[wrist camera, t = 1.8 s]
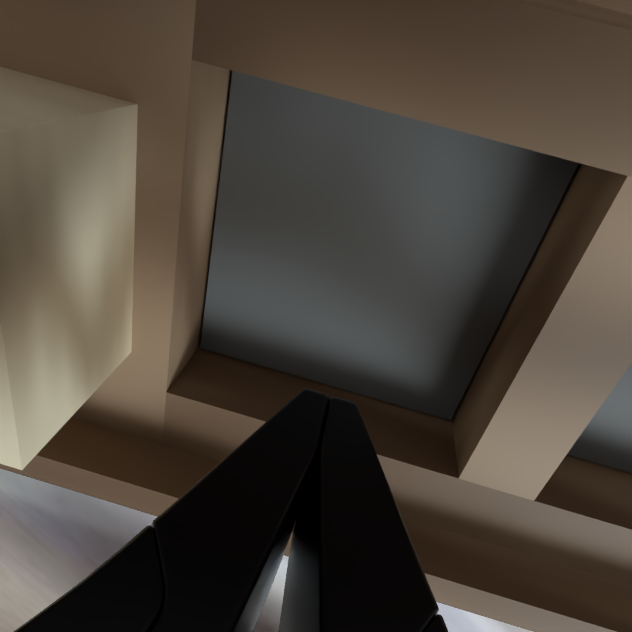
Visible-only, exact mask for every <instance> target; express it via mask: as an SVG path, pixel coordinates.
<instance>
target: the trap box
mask: <svg viewBox="0 0 632 632" xmlns="http://www.w3.org/2000/svg"><path fill="white" fill-rule="evenodd" d="M0 67H3V68H7V69H10V70H14V71H18V72H21V73H25V74H29V75H32V76H36V77H40V78H43V79H47V80H51V81H55V82H58V83H62V84H66V85H69V86H73V87H77V88H80V89H84V90H88V91H91V92H95V93H99V94H102V95H106V96H110V97H113V98H117V99H121V100H125V101H128V102H132V103H136V104H138V115H137V154H136V192H135V231H134V270H133V309H132V348H131V353H130V354H129V355H128V356H127V357H126V358H125V359H124V361H123V362H122V363H121V364H120V365H119V366H118V367H117V368H116V369H115V370H114V371H113V372H112V374H111V375H110V376H109V377H108V378H107V379H106V380H105V381H104V382H103V383H102V384H101V385H100V387H99V388H98V389H97V390H96V391H95V392H94V393H93V394H92V395H91V396H90V397H89V398H88V400H87V401H86V402H85V403H84V404H83V405H82V406H81V407H80V408H79V409H78V410H77V411H76V412H75V414H74V415H73V416H72V417H71V418H70V419H69V420H68V421H67V422H66V423H65V424H64V425H63V427H62V428H61V429H60V430H59V431H58V432H57V433H56V434H55V435H54V436H53V437H52V438H51V440H50V441H49V442H48V443H47V444H46V445H45V446H44V447H43V448H42V449H41V450H40V451H39V453H38V454H37V455H36V456H35V457H34V458H33V459H32V460H31V461H30V462H29V463H28V464H27V466H26V467H25V468H24V469H23V470H19V469H16V468H13V467H10V466H6V465H3V464H0V468H1V469H4V470H8V471H11V472H14V473H17V474H21V475H24V476H27V477H31V478H34V479H37V480H40V481H44V482H47V483H50V484H53V485H57V486H60V487H63V488H66V489H70V490H73V491H76V492H80V493H83V494H86V495H89V496H93V497H96V498H99V499H102V500H106V501H109V502H112V503H115V504H119V505H122V506H125V507H129V508H132V509H135V510H138V511H142V512H145V513H148V514H151V515H155V516H160V515H161V514H162V513H163V512H164V511H165V510H166V509H167V508H169V507H170V506H171V505H172V504H173V503H174V502H175V501H177V500H178V499H179V498H180V497H181V496H182V495H183V494H185V493H186V492H187V491H188V490H189V489H190V488H191V487H193V486H194V485H195V484H196V483H197V482H198V481H199V480H201V479H202V478H203V477H204V476H205V475H206V474H207V473H208V472H210V471H211V470H212V469H213V468H214V467H215V466H216V465H218V464H219V463H220V462H221V461H222V460H223V459H224V458H226V457H227V456H228V455H229V454H230V453H231V452H232V451H234V450H235V449H236V448H237V447H238V446H239V445H240V444H242V443H243V442H244V441H245V440H246V439H247V438H248V437H249V436H251V435H252V434H253V433H254V432H255V431H256V430H257V429H259V428H260V427H261V426H262V425H263V424H264V423H265V422H267V421H268V420H269V419H270V418H271V417H272V416H273V415H275V414H276V413H277V412H278V411H279V410H280V409H281V408H283V407H284V406H285V405H286V404H287V403H288V402H289V401H290V400H292V399H293V398H294V397H295V396H296V395H297V394H298V393H300V392H301V391H302V390H304V389H310V390H314V391H317V392H321V393H324V394H327V395H328V397H329V399H330V398H331V397H338V398H341V399H345V400H348V401H351V402H354V403H355V404H356V405H357V407H358V409H359V412H360V414H361V417H362V419H363V422H364V424H365V427H366V429H367V432H368V434H369V437H370V439H371V442H372V444H373V447H374V449H375V452H376V454H377V457H378V459H379V462H380V464H381V467H382V469H383V472H384V474H385V476H386V479H387V481H388V484H389V486H390V489H391V491H392V494H393V496H394V499H395V501H396V504H397V506H398V509H399V511H400V514H401V516H402V519H403V521H404V524H405V526H406V529H407V531H408V534H409V536H410V538H411V541H412V543H413V546H414V548H415V551H416V553H417V556H418V558H419V561H420V563H421V566H422V568H423V571H424V573H425V576H426V578H427V581H428V583H429V586H430V588H431V591H432V593H433V596H434V598H435V600H436V602H439V603H442V604H445V605H449V606H452V607H455V608H458V609H462V610H465V611H468V612H472V613H475V614H478V615H481V616H485V617H488V618H491V619H494V620H498V621H501V622H504V623H507V624H511V625H514V626H517V627H521V628H524V629H527V630H530V631H534V632H632V0H0ZM294 525H295V524H294ZM293 530H294V527H293ZM293 530H292V533H291V536H290V539H289V542H288V544H287V547H286V550H285V553H284V555H285V556H289V552H290V546H291V540H292V534H293Z"/></svg>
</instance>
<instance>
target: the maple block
mask: <svg viewBox="0 0 632 632" xmlns="http://www.w3.org/2000/svg"><path fill="white" fill-rule="evenodd" d="M137 115H138V104H136V103H132V102H128V101H125V100H121V99H117V98H113V97H110V96H106V95H102V94H99V93H95V92H91V91H88V90H84V89H80V88H77V87H73V86H69V85H66V84H62V83H58V82H55V81H51V80H47V79H43V78H40V77H36V76H32V75H29V74H25V73H21V72H18V71H14V70H10V69H7V68H3V67H0V464H3V465H6V466H10V467H13V468H16V469H19V470H23V469H24V468H25V467H26V466H27V464H28V463H29V462H30V461H31V460H32V459H33V458H34V457H35V456H36V455H37V454H38V453H39V451H40V450H41V449H42V448H43V447H44V446H45V445H46V444H47V443H48V442H49V441H50V440H51V438H52V437H53V436H54V435H55V434H56V433H57V432H58V431H59V430H60V429H61V428H62V427H63V425H64V424H65V423H66V422H67V421H68V420H69V419H70V418H71V417H72V416H73V415H74V414H75V412H76V411H77V410H78V409H79V408H80V407H81V406H82V405H83V404H84V403H85V402H86V401H87V400H88V398H89V397H90V396H91V395H92V394H93V393H94V392H95V391H96V390H97V389H98V388H99V387H100V385H101V384H102V383H103V382H104V381H105V380H106V379H107V378H108V377H109V376H110V375H111V374H112V372H113V371H114V370H115V369H116V368H117V367H118V366H119V365H120V364H121V363H122V362H123V361H124V359H125V358H126V357H127V356H128V355H129V354H130V353H131V348H132V309H133V270H134V231H135V192H136V154H137Z"/></svg>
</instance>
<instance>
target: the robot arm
mask: <svg viewBox="0 0 632 632" xmlns="http://www.w3.org/2000/svg"><path fill="white" fill-rule="evenodd" d="M294 524H295V525H294ZM293 527H294V530H293ZM292 530H293V534H292V540H291V546H290V552H289V559H288V567H287V574H286V582H285V589H284V596H283V604H282V611H281V618H280V626H279V632H448V630H447V627H446V625H445V622H444V620H443V617H442V616H441V615H436V614H437V613H438V611H439V609H438V605H437V603H436V600H435V598H434V596H433V593H432V591H431V588H430V586H429V583H428V581H427V578H426V576H425V573H424V571H423V568H422V566H421V563H420V561H419V558H418V556H417V553H416V551H415V548H414V546H413V543H412V541H411V538H410V536H409V534H408V531H407V529H406V526H405V524H404V521H403V519H402V516H401V514H400V511H399V509H398V506H397V504H396V501H395V499H394V496H393V494H392V491H391V489H390V486H389V484H388V481H387V479H386V476H385V474H384V472H383V469H382V467H381V464H380V462H379V459H378V457H377V454H376V452H375V449H374V447H373V444H372V442H371V439H370V437H369V434H368V432H367V429H366V427H365V424H364V422H363V419H362V417H361V414H360V412H359V409H358V407H357V405H356V404H355V403H354V402H351V401H348V400H345V399H341V398H338V397H331V398H330V399H329V397H328V395H327V394H324V393H321V392H317V391H314V390H310V389H304V390H302V391H301V392H300V393H298V394H297V395H296V396H295V397H294V398H293V399H292V400H290V401H289V402H288V403H287V404H286V405H285V406H284V407H283V408H281V409H280V410H279V411H278V412H277V413H276V414H275V415H273V416H272V417H271V418H270V419H269V420H268V421H267V422H265V423H264V424H263V425H262V426H261V427H260V428H259V429H257V430H256V431H255V432H254V433H253V434H252V435H251V436H249V437H248V438H247V439H246V440H245V441H244V442H243V443H242V444H240V445H239V446H238V447H237V448H236V449H235V450H234V451H232V452H231V453H230V454H229V455H228V456H227V457H226V458H224V459H223V460H222V461H221V462H220V463H219V464H218V465H216V466H215V467H214V468H213V469H212V470H211V471H210V472H208V473H207V474H206V475H205V476H204V477H203V478H202V479H201V480H199V481H198V482H197V483H196V484H195V485H194V486H193V487H191V488H190V489H189V490H188V491H187V492H186V493H185V494H183V495H182V496H181V497H180V498H179V499H178V500H177V501H175V502H174V503H173V504H172V505H171V506H170V507H169V508H167V509H166V510H165V511H164V512H163V513H162V514H161V515H160V516H158V517H157V518H156V519H155V520H154V521H153V522H152V526H147V527H145V528H144V529H143V530H142V531H141V532H140V533H139V534H137V535H136V536H135V537H134V538H133V539H132V540H131V541H129V542H128V543H127V544H126V545H125V546H124V547H123V548H121V549H120V550H119V551H118V552H117V553H115V554H114V555H113V556H112V557H111V558H109V559H108V560H107V561H106V562H105V563H103V564H102V565H101V566H100V567H99V568H97V569H96V570H95V571H94V572H92V573H91V574H90V575H89V576H88V577H86V578H85V579H84V580H83V581H82V582H80V583H79V584H78V585H76V586H75V587H74V588H72V589H71V590H70V591H68V592H67V593H66V594H64V595H63V596H61V597H60V598H59V599H57V600H56V601H55V602H53V603H52V604H51V605H49V606H48V607H47V608H45V609H44V610H43V611H41V612H40V613H39V614H37V615H36V616H35V617H33V618H32V619H31V620H29V621H28V622H26V623H25V624H24V625H22V626H21V627H19V628H18V629H17V630H15V631H14V632H253V631H254V628H255V626H256V623H257V621H258V618H259V616H260V613H261V611H262V608H263V606H264V603H265V601H266V598H267V595H268V593H269V590H270V588H271V585H272V583H273V580H274V578H275V575H276V573H277V570H278V568H279V565H280V563H281V560H282V558H283V555H284V553H285V550H286V547H287V544H288V542H289V539H290V536H291V533H292Z"/></svg>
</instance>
